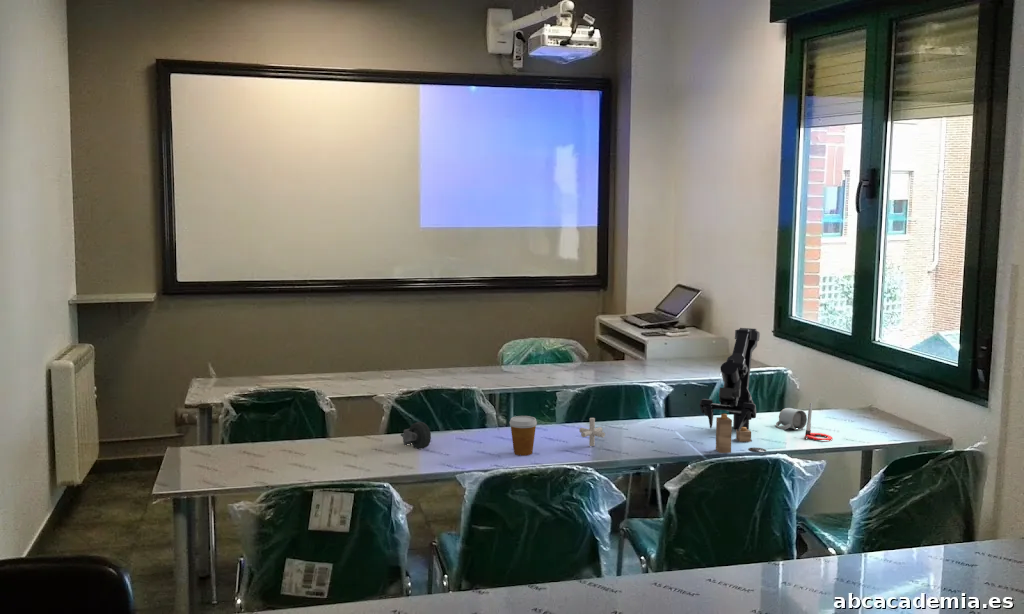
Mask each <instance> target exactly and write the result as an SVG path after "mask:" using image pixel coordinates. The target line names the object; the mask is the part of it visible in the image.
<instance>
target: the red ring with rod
mask: <svg viewBox="0 0 1024 614" xmlns="http://www.w3.org/2000/svg"><path fill="white" fill-rule="evenodd" d="M812 406H813V403H812V402H809V407H808V411H807V422H806V425H805V427H806V428H805V434H804V439H805V438H807V439H806V440H808V438H809V439H810V440H812V439H814V440H813V441H816V440H831V439H832V440H833V436H832V435H829V434H826V433H821V432H812V431H811V429H812V422H811V421H812V413H813V409H812ZM816 435H821V436H820V437H818V436H816ZM822 436H826V437H828V438H826V437H823V438H821V437H822ZM832 440H831V441H832Z"/></svg>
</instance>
